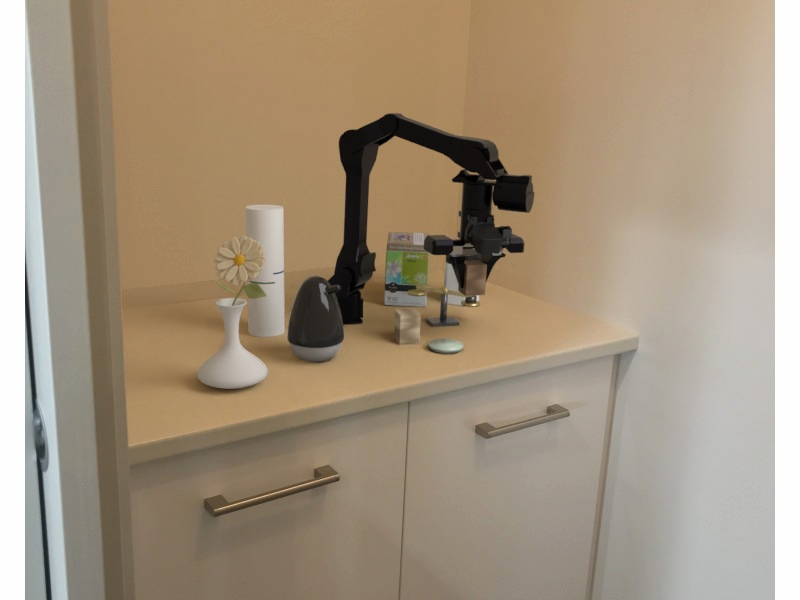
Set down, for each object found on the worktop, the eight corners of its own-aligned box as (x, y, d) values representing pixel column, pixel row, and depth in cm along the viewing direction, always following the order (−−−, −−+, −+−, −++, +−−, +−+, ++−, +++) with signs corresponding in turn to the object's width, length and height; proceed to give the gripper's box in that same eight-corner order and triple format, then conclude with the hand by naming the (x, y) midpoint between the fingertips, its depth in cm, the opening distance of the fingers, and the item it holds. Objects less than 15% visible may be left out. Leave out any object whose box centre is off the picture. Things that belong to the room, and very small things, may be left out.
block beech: (399, 345, 150) (400, 315, 148) (394, 338, 153) (395, 309, 152) (419, 343, 151) (420, 314, 149) (413, 337, 154) (414, 308, 153)
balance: (409, 328, 160) (411, 287, 158) (404, 322, 164) (405, 282, 162) (481, 324, 165) (484, 284, 162) (474, 318, 168) (477, 280, 166)
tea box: (427, 307, 176) (430, 243, 172) (383, 306, 176) (385, 242, 172) (426, 291, 190) (429, 231, 186) (385, 289, 190) (387, 230, 186)
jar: (456, 308, 176) (459, 256, 173) (435, 299, 183) (437, 249, 179) (486, 303, 181) (490, 252, 178) (465, 295, 187) (468, 246, 184)
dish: (434, 355, 144) (435, 350, 144) (424, 344, 150) (424, 339, 150) (468, 353, 146) (468, 348, 146) (456, 342, 152) (456, 337, 152)
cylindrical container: (291, 332, 155) (291, 207, 149) (263, 339, 150) (261, 211, 144) (269, 324, 160) (268, 203, 153) (241, 331, 155) (238, 206, 148)
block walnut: (465, 295, 148) (467, 265, 147) (458, 290, 152) (459, 260, 150) (484, 295, 150) (486, 264, 148) (477, 289, 153) (478, 260, 152)
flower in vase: (182, 384, 126) (175, 233, 120) (231, 365, 136) (227, 224, 129) (242, 403, 120) (238, 244, 113) (289, 381, 129) (288, 233, 123)
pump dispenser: (321, 371, 134) (322, 286, 130) (275, 359, 140) (274, 277, 136) (355, 355, 143) (356, 275, 139) (311, 344, 148) (311, 267, 144)
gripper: (444, 215, 136) (440, 300, 140) (540, 214, 142) (533, 296, 146) (424, 205, 147) (421, 285, 151) (514, 204, 152) (508, 281, 156)
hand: (471, 287), depth 151 cm, fingers closed on block walnut, 4 cm apart
